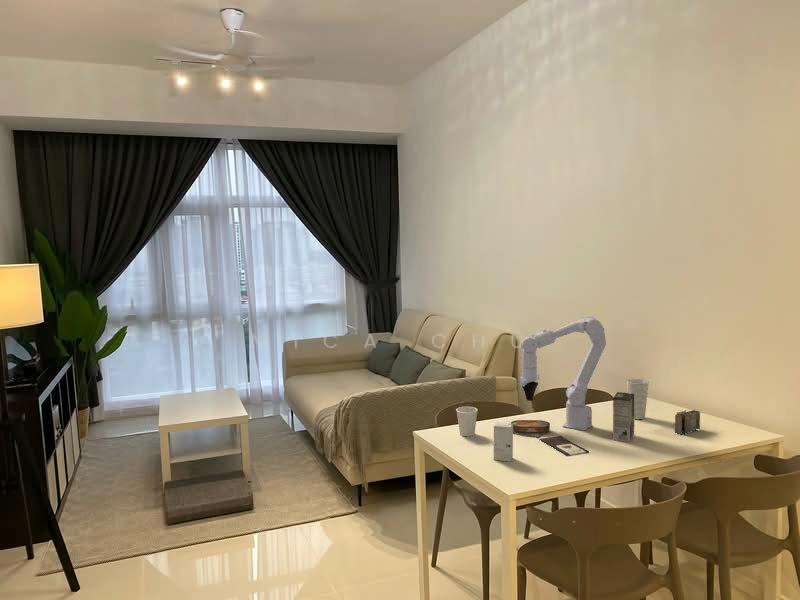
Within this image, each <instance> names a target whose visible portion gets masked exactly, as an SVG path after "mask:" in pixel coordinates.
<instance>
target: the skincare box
mask: <svg viewBox="0 0 800 600" xmlns="http://www.w3.org/2000/svg"><path fill="white" fill-rule="evenodd" d="M513 456H514V434H513V424H511V423H508V422H497V421H496V423H495V424H494V425H493V458H492V459H493V460H494V461H502V462H508V463H509V462H511V461H512V460H513V458H514V457H513Z"/></svg>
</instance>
